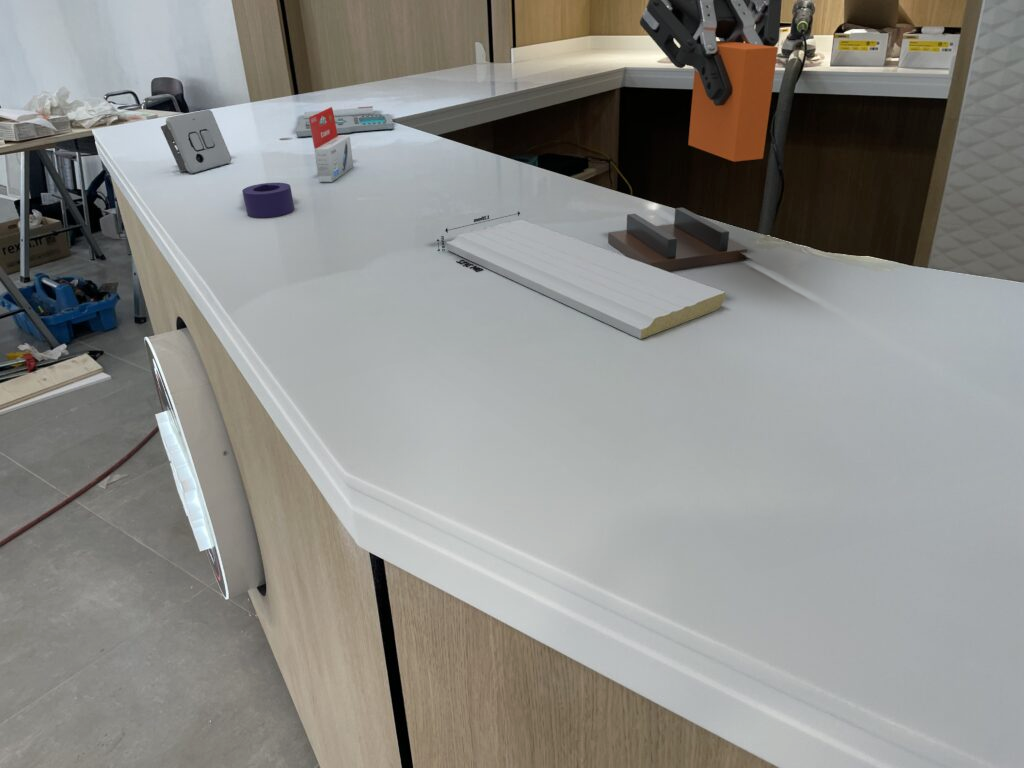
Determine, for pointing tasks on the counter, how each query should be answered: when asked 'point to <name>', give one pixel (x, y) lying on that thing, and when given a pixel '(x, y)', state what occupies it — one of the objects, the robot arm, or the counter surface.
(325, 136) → the ink cartridge box
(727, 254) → the brown slotted base
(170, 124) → the electrical switch
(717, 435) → the counter surface
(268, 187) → the purple donut ring
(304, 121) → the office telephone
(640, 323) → the baseboard molding
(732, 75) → the orange rectangular block
